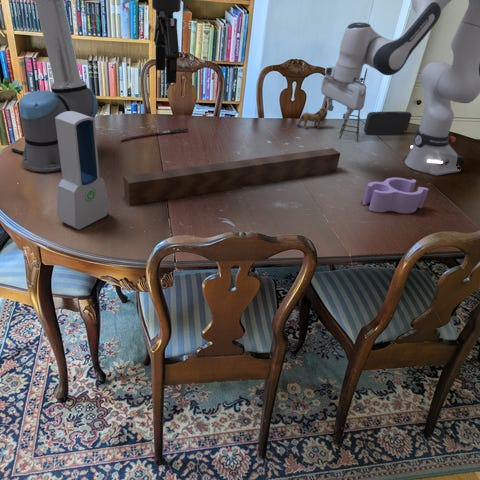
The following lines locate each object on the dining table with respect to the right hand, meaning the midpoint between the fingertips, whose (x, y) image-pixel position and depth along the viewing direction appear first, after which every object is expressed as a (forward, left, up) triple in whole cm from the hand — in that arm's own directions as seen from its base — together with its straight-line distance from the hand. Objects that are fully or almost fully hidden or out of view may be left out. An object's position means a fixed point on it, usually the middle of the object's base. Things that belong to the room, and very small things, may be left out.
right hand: (337, 114), depth 166 cm
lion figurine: (-14, -46, -22) cm, 53 cm away
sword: (+59, -38, -22) cm, 74 cm away
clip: (-11, +29, -22) cm, 38 cm away
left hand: (+62, +6, +14) cm, 64 cm away
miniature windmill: (-27, -33, -22) cm, 48 cm away
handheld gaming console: (-48, -36, -22) cm, 64 cm away
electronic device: (+88, +24, -22) cm, 94 cm away
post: (+36, +7, -22) cm, 43 cm away
